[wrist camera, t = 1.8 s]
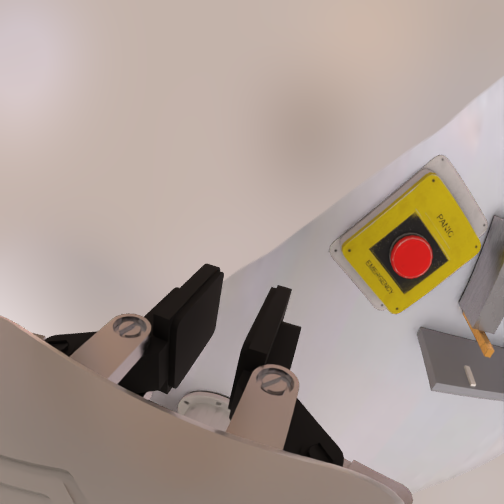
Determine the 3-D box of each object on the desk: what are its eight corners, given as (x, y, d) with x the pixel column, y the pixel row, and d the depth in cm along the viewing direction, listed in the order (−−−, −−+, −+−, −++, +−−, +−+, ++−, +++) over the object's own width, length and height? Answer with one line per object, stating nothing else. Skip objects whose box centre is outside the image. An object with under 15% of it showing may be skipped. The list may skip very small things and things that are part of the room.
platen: (475, 317, 27) (498, 359, 21) (454, 311, 28) (475, 354, 21) (514, 224, 23) (552, 250, 16) (494, 215, 24) (531, 239, 17)
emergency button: (322, 264, 27) (455, 152, 20) (325, 247, 31) (440, 150, 24) (382, 334, 27) (506, 239, 21) (379, 311, 31) (488, 225, 25)
